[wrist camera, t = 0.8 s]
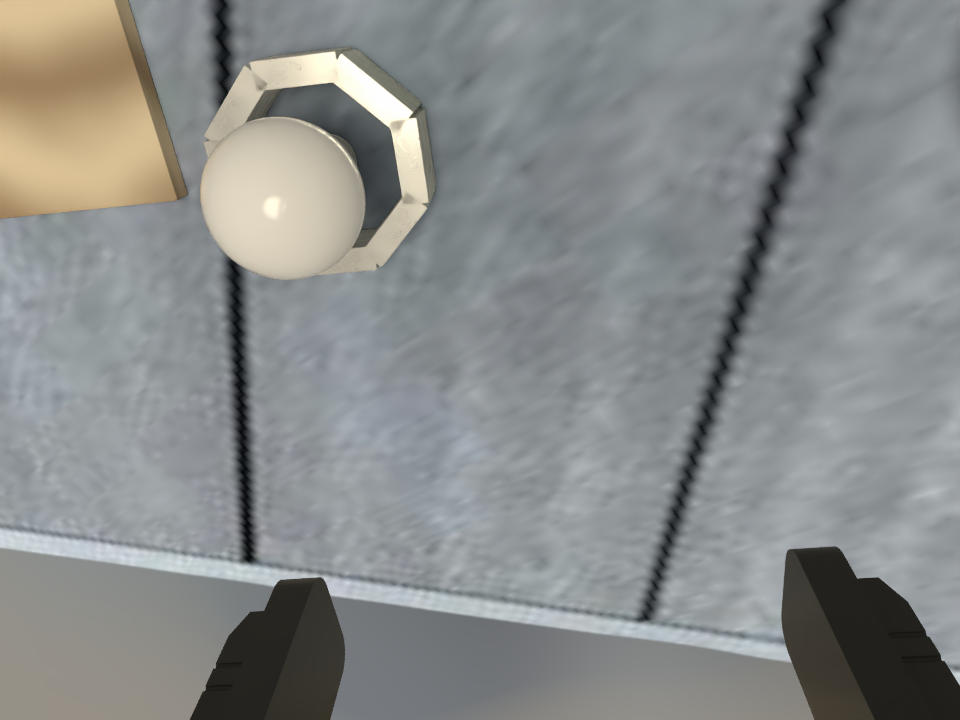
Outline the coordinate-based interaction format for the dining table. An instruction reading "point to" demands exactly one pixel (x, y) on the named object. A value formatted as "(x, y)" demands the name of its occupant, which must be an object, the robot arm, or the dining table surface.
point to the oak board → (79, 111)
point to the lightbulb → (283, 197)
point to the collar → (375, 95)
